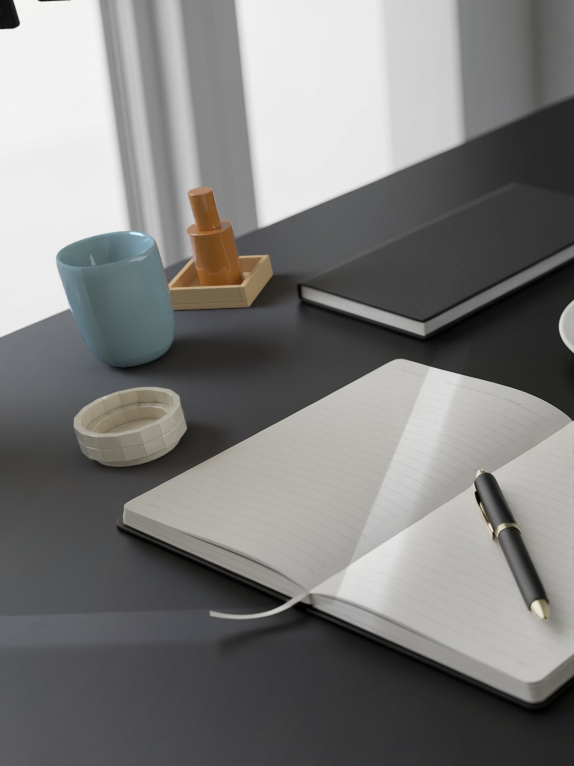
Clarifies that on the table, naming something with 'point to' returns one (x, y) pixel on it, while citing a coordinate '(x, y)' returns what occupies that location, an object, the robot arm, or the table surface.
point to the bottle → (212, 242)
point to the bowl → (131, 426)
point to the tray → (230, 296)
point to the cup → (119, 296)
